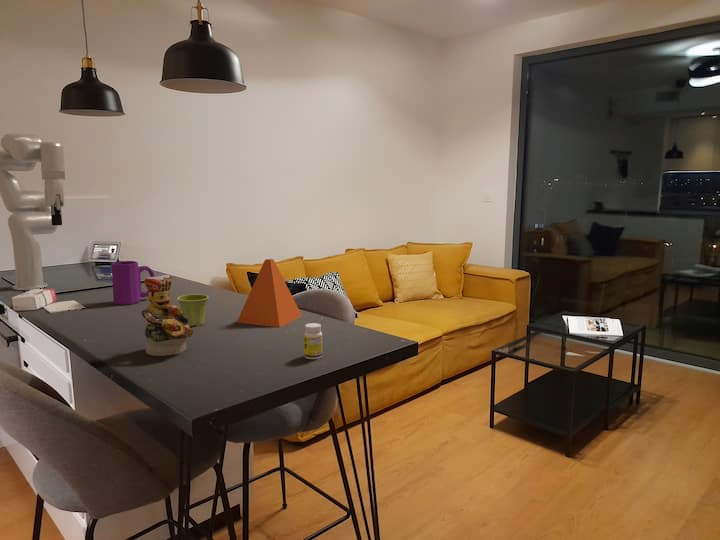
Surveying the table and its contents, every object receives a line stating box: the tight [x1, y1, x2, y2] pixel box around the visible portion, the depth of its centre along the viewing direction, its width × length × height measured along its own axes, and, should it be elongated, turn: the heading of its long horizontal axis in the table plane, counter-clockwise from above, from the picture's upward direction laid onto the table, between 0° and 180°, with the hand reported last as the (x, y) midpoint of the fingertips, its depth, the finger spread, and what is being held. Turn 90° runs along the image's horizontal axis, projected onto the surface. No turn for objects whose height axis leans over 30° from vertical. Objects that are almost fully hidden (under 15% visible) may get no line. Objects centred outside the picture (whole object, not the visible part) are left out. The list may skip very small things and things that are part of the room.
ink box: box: [10, 287, 58, 312], centre depth 187 cm, size 9×5×12 cm
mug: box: [110, 260, 156, 306], centre depth 197 cm, size 9×16×15 cm, turn 133°
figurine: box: [140, 274, 194, 357], centre depth 138 cm, size 12×15×20 cm
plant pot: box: [176, 293, 209, 327], centre depth 166 cm, size 9×9×9 cm
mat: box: [42, 299, 86, 314], centre depth 188 cm, size 15×11×1 cm
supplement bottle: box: [303, 322, 323, 360], centre depth 135 cm, size 5×5×8 cm
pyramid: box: [236, 258, 303, 328], centre depth 172 cm, size 16×16×20 cm
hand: (57, 225), depth 200 cm, fingers closed
